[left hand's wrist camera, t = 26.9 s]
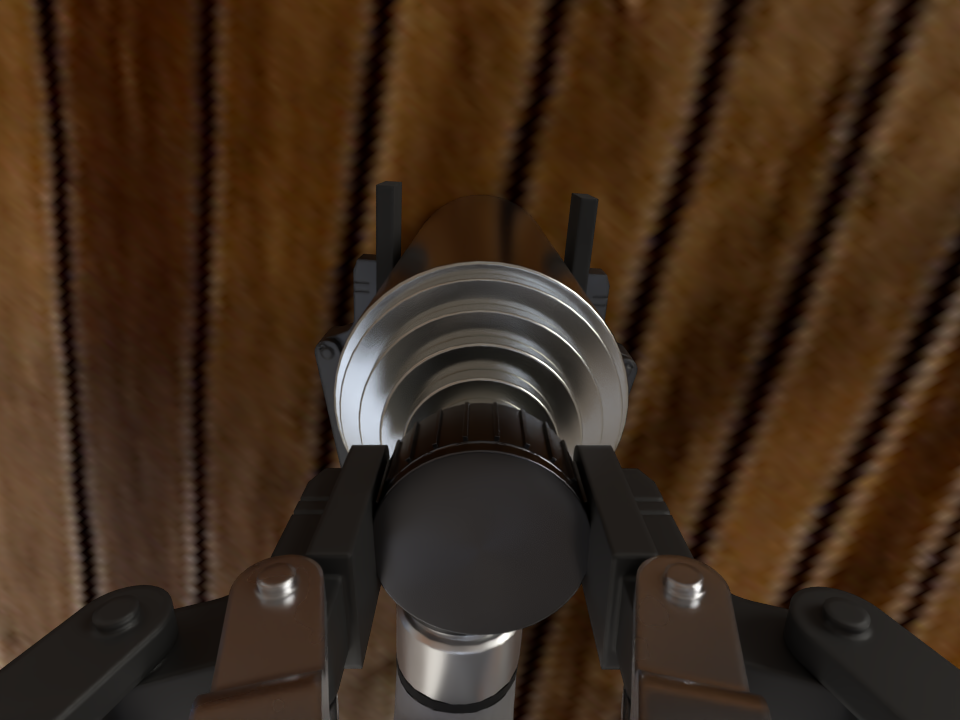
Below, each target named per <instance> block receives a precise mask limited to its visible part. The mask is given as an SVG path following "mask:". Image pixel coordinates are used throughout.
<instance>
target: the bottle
mask: <svg viewBox="0 0 960 720" xmlns="http://www.w3.org/2000/svg"><path fill="white" fill-rule="evenodd" d="M628 388H629V387H628V380H627V373H626V367H625V364H624V361H623V357H622V354H621V351H620V349H619V346H618V344H617V342H616V340H615V338H614V335H613V334H612V332H611V331H610V329H609V327H608V326H607V324H606V323H605V321H604V320H603V318H602V317H601V315H600V314H599V312H598V311H597V310H596V308H595V307H594V305H593V304H592V302H591V301H590V299H589V298H588V296H587V295H586V294H585V292H584V291H583V289H582V288H581V286H580V285H579V283H578V282H577V281H576V279H575V278H574V276H573V275H572V273H571V272H570V270H569V269H568V267H567V266H566V265H565V263H564V262H563V260H562V259H561V257H560V256H559V254H558V253H557V252H556V250H555V249H554V247H553V246H552V244H551V243H550V241H549V240H548V238H547V237H546V236H545V234H544V233H543V231H542V230H541V228H540V227H539V225H538V224H537V223H536V221H535V220H534V219H533V218H532V217H531V216H530V215H529V214H528V213H527V212H526V211H525V210H524V209H522V208H521V207H519V206H518V205H516V204H514V203H512V202H510V201H508V200H506V199H503V198H500V197H495V196H490V195H472V196H466V197H462V198H459V199H456V200H453V201H451V202H449V203H447V204H445V205H444V206H442V207H441V208H439V209H438V210H437V211H436V212H434V213H433V214H432V215H431V216H430V217H429V218H428V220H427V221H426V222H425V223H424V225H423V226H422V228H421V229H420V231H419V232H418V233H417V235H416V236H415V238H414V239H413V241H412V242H411V244H410V245H409V247H408V248H407V249H406V251H405V252H404V254H403V255H402V257H401V258H400V260H399V261H398V263H397V264H396V266H395V267H394V268H393V270H392V271H391V273H390V274H389V276H388V277H387V279H386V280H385V282H384V283H383V284H382V286H381V287H380V289H379V290H378V292H377V293H376V295H375V296H374V298H373V299H372V300H371V302H370V303H369V305H368V306H367V308H366V309H365V311H364V312H363V314H362V315H361V317H360V318H359V319H358V321H357V322H356V324H355V326H354V327H353V329H352V331H351V332H350V334H349V336H348V337H347V339H346V342H345V344H344V346H343V349H342V351H341V354H340V356H339V360H338V364H337V368H336V372H335V379H334V389H333V397H334V412H335V417H336V422H337V427H338V430H339V433H340V436H341V439H342V442H343V444H344V446H345V448H346V450H347V452H349V450H350V448H351V446H352V445H388V448H389V454H390V458H391V456H392V454H393V452H394V448H395V445H396V442H397V440H398V439H399V440H401V439H402V438H403V437H404V436H405V435H406V434H407V433H408V432H409V431H410V429H412V428H413V426H414V423H415V422H418V423H419V422H420V421H422V420H424V419H425V418H427V417H429V416H430V415H432V414H434V413H436V412H437V410H438V409H442V410H444V409H447V408H450V407H453V406H457V405H461V404H465V402H469V403H493V402H497V404H501V405H505V406H509V407H512V408H515V409H519V410H520V409H521V408H522V409H524V410H525V412H526V413H528V414H530V415H532V416H534V417H535V418H537V419H538V420H540V421H542V422H543V423H544V422H545V421H546V422H547V423H548V426H549V428H550V429H552V430H553V431H554V433H555V434H556V435H557V436H558V437H559V438H560V439H561V441H562V440H563V439H564V440H565V442H566V444H567V448H568V452H569V454H570V456H571V458H572V461H573V454H574V448H575V446H576V445H611V446H612V448H613V450H614V452H615V450H616V448H617V446H618V444H619V442H620V439H621V436H622V433H623V430H624V426H625V423H626V417H627V410H628Z"/></svg>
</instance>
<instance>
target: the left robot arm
mask: <svg viewBox="0 0 960 720" xmlns="http://www.w3.org/2000/svg"><path fill="white" fill-rule="evenodd" d="M387 461H390V454H389V448H388V445H352V446H351V448H350V450H349V452H348V455H347V457H346V459H345V462H344V464H343V466H342V468H325V469H324V470H323V471H322V472H320V473H319V474H318V475H317V476H315V477H314V478H313V479H312V480H310V481H309V482H308V484H307V486H306V488H305V490H304V492H303V494H302V496H301V500H300V501H299V502H298V504H297V506H296V508H295V510H294V515H292V516H291V518H290V520H289V522H288V524H287V526H286V528H285V530H284V532H283V534H282V536H281V538H280V540H279V542H278V544H277V546H276V548H275V550H274V552H273V554H272V556H271V558H268V559H265V560H262V561H260V562H258V563H256V564H254V565H252V566H251V567H249V568H248V569H246V570H245V571H244V572H243V573H242V574H240V575H239V576H238V578H237V579H236V580H235V581H234V583H233V585H232V587H231V590H230V593H229V595H227V596H225V597H222V598H219V599H215V600H212V601H207V602H203V603H199V604H194V605H190V606H186V607H181V608H177V609H174V608H173V603H172V600H171V596H170V595H169V594H168V592H166V591H165V590H164V589H162V588H159V587H156V586H151V585H138V586H131V587H126V588H122V589H118V590H115V591H113V592H110V593H107V594H105V595H103V596H101V597H99V598H97V599H95V600H93V601H92V602H90V603H89V604H87V605H86V606H84V607H83V608H81V609H80V610H79V611H77V612H76V613H75V614H74V615H72V616H71V617H70V618H68V619H67V620H66V621H64V622H63V623H62V624H60V625H59V626H58V627H56V628H55V629H54V630H52V631H51V632H50V633H48V634H47V635H46V636H44V637H43V638H42V639H40V640H39V641H38V642H37V643H35V644H34V645H33V646H31V647H30V648H29V649H27V650H26V651H25V652H23V653H22V654H21V655H19V656H18V657H17V658H15V659H14V660H13V661H11V662H10V663H9V664H7V665H6V666H5V667H3V668H2V669H1V670H0V720H339V705H338V697H337V692H338V689H339V686H340V682H341V678H342V674H343V670H344V669H362V667H363V662H364V658H365V653H366V649H367V645H368V640H369V636H370V631H371V627H372V622H373V618H374V613H375V609H376V604H377V600H378V595H379V591H380V586H381V583H380V581H379V579H378V577H377V574H376V562H375V549H374V536H373V517H374V513H375V510H376V506H377V505H376V500H377V496H378V493H379V489H380V486H381V482H382V479H383V475H384V472H385V468H386V465H387ZM573 461H576V465H577V468H578V471H579V475H580V478H581V482H582V485H583V488H584V492H585V495H586V498H587V505H586V508H587V512H588V515H589V519H590V523H591V526H590V540H589V553H588V566H587V573H586V575H585V578H584V580H583V582H582V586H583V590H584V595H585V599H586V603H587V608H588V612H589V616H590V621H591V625H592V629H593V634H594V638H595V642H596V647H597V651H598V655H599V660H600V664H601V668H602V669H620V671H621V674H622V678H623V682H624V688H623V697H622V706H621V720H960V670H959V669H958V668H957V667H955V666H954V665H953V664H951V663H950V662H949V661H947V660H946V659H945V658H943V657H942V656H941V655H939V654H938V653H937V652H935V651H934V650H933V649H931V648H930V647H929V646H927V645H926V644H925V643H923V642H922V641H921V640H920V639H918V638H917V637H916V636H914V635H913V634H912V633H910V632H909V631H908V630H906V629H905V628H904V627H902V626H901V625H900V624H898V623H897V622H896V621H894V620H893V619H892V618H890V617H889V616H888V615H886V614H885V613H884V612H883V611H881V610H880V609H878V608H877V607H876V606H874V605H873V604H871V603H869V602H867V601H866V600H864V599H862V598H860V597H858V596H856V595H853V594H850V593H848V592H845V591H841V590H838V589H833V588H827V587H810V588H805V589H802V590H800V591H798V592H797V593H795V594H794V595H793V597H792V598H791V601H790V605H789V609H784V608H780V607H776V606H771V605H767V604H763V603H758V602H754V601H750V600H747V599H743V598H741V597H738V596H735V595H733V594H731V593H730V590H729V587H728V585H727V583H726V581H725V580H724V579H723V578H722V576H721V575H720V574H718V573H717V572H716V571H715V570H714V569H712V568H711V567H709V566H708V565H706V564H704V563H702V562H700V561H698V560H695V559H694V558H693V556H692V554H691V552H690V550H689V548H688V546H687V544H686V542H685V541H684V539H683V537H682V535H681V533H680V531H679V529H678V527H677V525H676V523H675V521H674V519H673V517H672V515H670V511H669V509H668V507H667V505H666V503H665V502H663V498H662V496H661V494H660V492H659V490H658V488H657V486H656V484H655V482H654V481H652V480H651V479H650V478H649V477H647V476H646V475H645V474H644V473H642V472H641V471H640V470H639V469H622V468H621V466H620V464H619V461H618V459H617V457H616V455H615V452H614V450H613V448H612V446H611V445H576V446H575V448H574V454H573Z"/></svg>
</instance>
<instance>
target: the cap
mask: <svg viewBox="0 0 960 720" xmlns="http://www.w3.org/2000/svg"><path fill="white" fill-rule="evenodd" d="M376 505H377V506H376V510H375V513H374V517H373V536H374V549H375V562H376V574H377V577H378V579H379V581H380V583H381V585H382V586H383V587H384V589H385V590H386V592H387V593H388V594H389V596H390V597H391V598H392V599H393V600H394V601H395V602H396V603H397V604H398V605H399V606H400V607H402V608H403V609H404V610H405V611H406V612H408V613H409V614H411V615H412V616H414V617H415V618H417V619H419V620H421V621H423V622H425V623H427V624H429V625H432V626H434V627H437V628H440V629H443V630H447V631H450V632H454V633H461V634H467V635H495V634H502V633H508V632H512V631H516V630H520V629H523V628H525V627H528V626H531V625H533V624H535V623H537V622H539V621H541V620H543V619H545V618H547V617H548V616H550V615H551V614H553V613H554V612H556V611H557V610H558V609H560V608H561V607H562V606H563V605H564V604H565V603H566V602H567V601H568V600H569V599H570V598H571V597H572V596H573V595H574V594H575V592H576V591H577V589H578V588H579V586H580V585H581V584H582V582H583V580H584V578H585V575H586V573H587V566H588V553H589V540H590V526H591V523H590V519H589V515H588V512H587V508H586V505H587V498H586V495H585V492H584V488H583V485H582V482H581V478H580V475H579V471H578V468H577V465H576V461H572V458H571V456H570V454H569V452H568V448H567V444H566V442H565V440H564V439H563V440H562V441H561V439H560V438H559V437H558V436H557V435H556V434H555V433H554V431H553V430H552V429H550V428H549V426H548V423H547V422H546V421H545V422H544V423H543V422H542V421H540V420H538V419H537V418H535V417H534V416H532V415H530V414H528V413H526V412H525V410H524V409H522V408H521V409H520V410H519V409H515V408H512V407H509V406H505V405H501V404H497V402H493V403H469V402H465V404H461V405H457V406H453V407H450V408H447V409H444V410H442V409H438V410H437V412H436V413H434V414H432V415H430V416H429V417H427V418H425V419H424V420H422V421H420V422H419V423H418V422H415V423H414V426H413V428H412V429H410V431H409V432H408V433H407V434H406V435H405V436H404V437H403V438H402V439H401V440H399V439H398V440H397V442H396V445H395V448H394V452H393V454H392V456H391V458H390V461H387V465H386V468H385V472H384V475H383V479H382V482H381V486H380V489H379V493H378V496H377V500H376Z"/></svg>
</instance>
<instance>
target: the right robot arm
mask: <svg viewBox="0 0 960 720" xmlns="http://www.w3.org/2000/svg"><path fill="white" fill-rule="evenodd" d="M401 201H402V182H391V181H385V182H383V183H380V184H378V185H376V255H373V254H363V255H362V256H361V257H360V258H359V259H358V260H357V262H356V265H355V267H354V322H353V323H351V324H348V325H345V326H335V327H332V328H331V329H330V330H329V331H328V332H327V333H326V334H325V336H324V337H323V338H322V339H321V341H320V342H319V343H318V344H317V346H316V348H315V356H316V361H317V365H318V369H319V374H320V378H321V383H322V387H323V391H324V396H325V400H326V405H327V409H328V413H329V418H330V422H331V426H332V431H333V435H334V440H335V444H336V448H337V453H338V457H339V462H340V466H341V468H342V466H343V464H344V462H345V459H346V457H347V455H348V452H347V450H346V448H345V446H344V444H343V442H342V439H341V436H340V433H339V430H338V427H337V422H336V417H335V412H334V397H333V389H334V379H335V372H336V368H337V364H338V360H339V356H340V354H341V351H342V349H343V346H344V344H345V342H346V339H347V337H348V336H349V334H350V332H351V331H352V329H353V327H354V326H355V324H356V322H357V321H358V319H359V318H360V317H361V315H362V314H363V312H364V311H365V309H366V308H367V306H368V305H369V303H370V302H371V300H372V299H373V298H374V296H375V295H376V293H377V292H378V290H379V289H380V287H381V286H382V284H383V283H384V282H385V280H386V279H387V277H388V276H389V274H390V273H391V271H392V270H393V268H394V267H395V266H396V264H397V263H398V261H399V260H400V258H401ZM597 206H598V199H597V198H594V197H592V196H590V195H588V194H576V193H572V197H571V205H570V214H569V223H568V232H567V241H566V250H565V258H564V263H565V265H566V266H567V267H568V269H569V270H570V272H571V273H572V275H573V276H574V278H575V279H576V281H577V282H578V283H579V285H580V286H581V288H582V289H583V291H584V292H585V294H586V295H587V296H588V298H589V299H590V301H591V302H592V304H593V305H594V307H595V308H596V310H597V311H598V312H599V314H600V315H601V317H602V318H603V320H604V321H605V314H606V306H607V300H608V293H609V282H608V278H607V275H606V274H605V273H604V272H603V271H602V269H596V268H590V261H591V253H592V245H593V237H594V230H595V222H596V214H597ZM617 344H618V346H619V349H620V351H621V354H622V357H623V361H624V364H625V367H626V373H627V380H628V387H629V388H628V396H629V393H630V390H631V387H632V385H633V382H634V379H635V376H636V374H637V366H636V364H635V362H634V361H633V359H632V358H631V356H630V355H629V353H628V352H627V351H626V349H625V348H624V347H623V346H622V345H621V344H619V343H617ZM521 638H522V629H520V630H516V631H512V632H508V633H502V634H495V635H467V634H461V633H454V632H450V631H447V630H443V629H440V628H437V627H434V626H432V625H429V624H427V623H425V622H423V621H421V620H419V619H417V618H415V617H414V616H412V615H411V614H409V613H408V612H406V611H405V610H404V609H403V608H402V607H400V606H399V605H398V604H397V629H396V647H397V652H396V661H397V676H396V695H395V712H394V720H513V710H514V696H515V682H516V673H517V667H518V660H519V656H520V647H521Z"/></svg>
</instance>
